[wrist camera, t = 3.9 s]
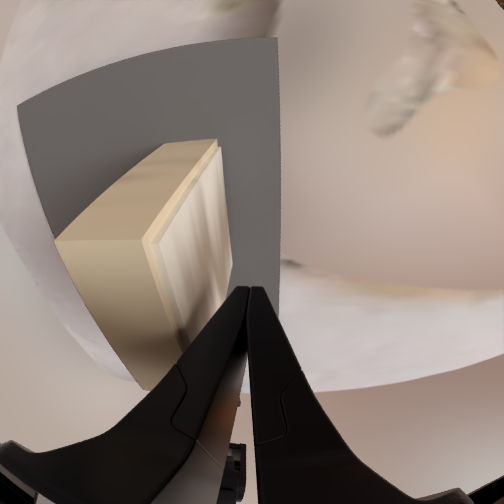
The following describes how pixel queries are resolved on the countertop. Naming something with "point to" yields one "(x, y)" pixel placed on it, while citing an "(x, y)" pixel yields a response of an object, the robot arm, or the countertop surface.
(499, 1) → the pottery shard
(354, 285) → the countertop surface
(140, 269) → the cream rectangular block
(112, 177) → the mat
